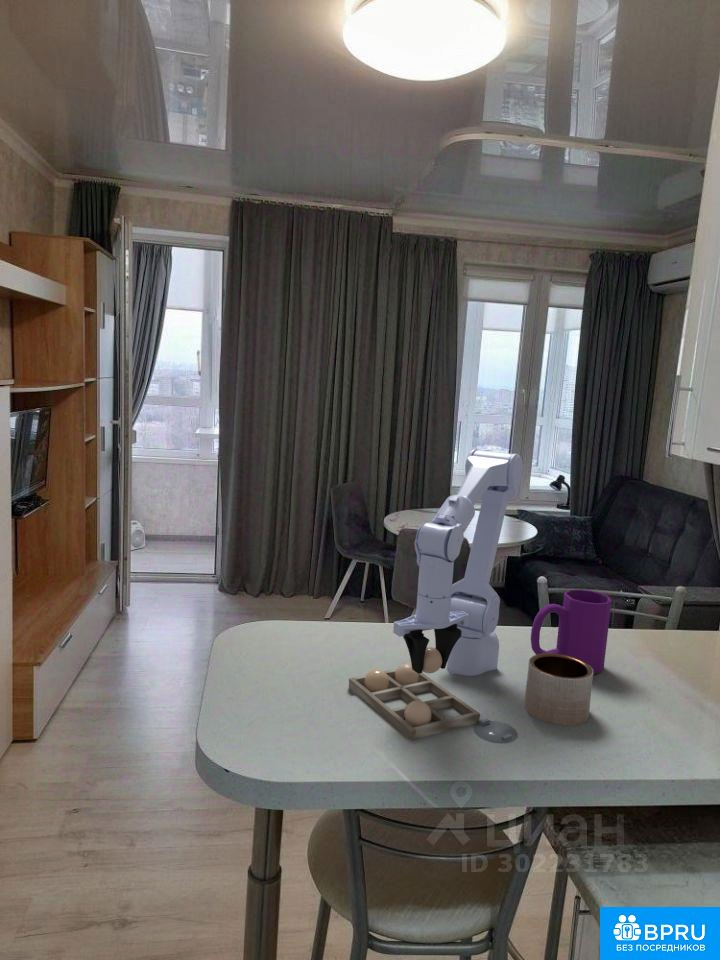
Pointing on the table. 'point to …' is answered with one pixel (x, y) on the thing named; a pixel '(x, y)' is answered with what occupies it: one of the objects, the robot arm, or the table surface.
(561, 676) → the planter
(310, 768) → the table surface
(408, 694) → the carton
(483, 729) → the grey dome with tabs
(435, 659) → the egg loose
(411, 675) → the egg
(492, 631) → the robot arm
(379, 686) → the egg
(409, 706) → the egg
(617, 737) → the table surface
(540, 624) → the mug
